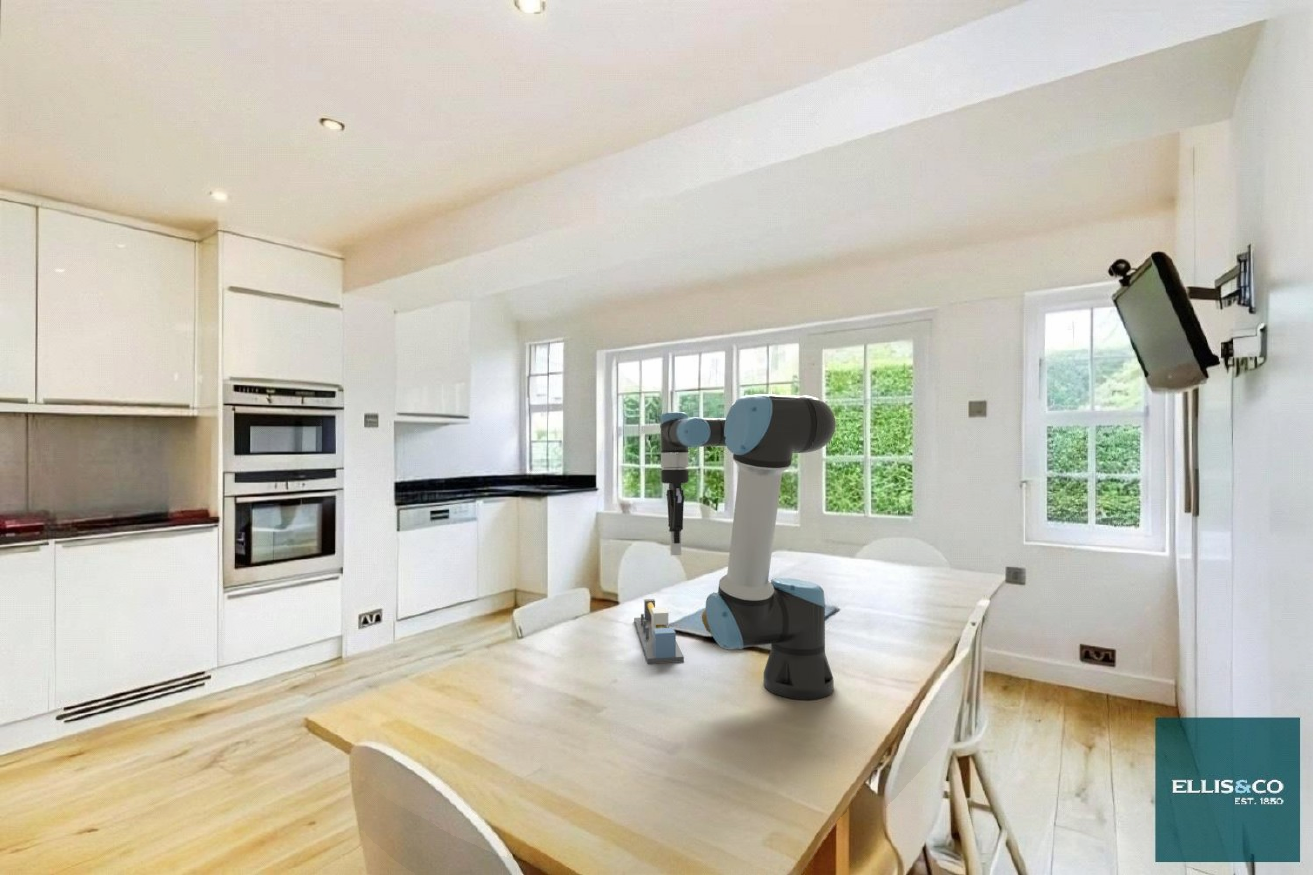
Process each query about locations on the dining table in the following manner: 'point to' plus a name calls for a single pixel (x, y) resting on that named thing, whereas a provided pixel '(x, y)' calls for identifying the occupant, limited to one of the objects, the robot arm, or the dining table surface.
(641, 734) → the dining table surface
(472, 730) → the dining table surface
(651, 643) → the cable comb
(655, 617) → the sleeve
